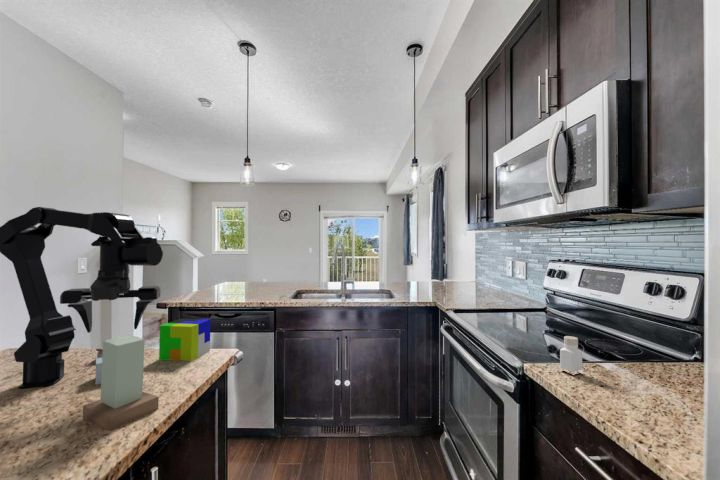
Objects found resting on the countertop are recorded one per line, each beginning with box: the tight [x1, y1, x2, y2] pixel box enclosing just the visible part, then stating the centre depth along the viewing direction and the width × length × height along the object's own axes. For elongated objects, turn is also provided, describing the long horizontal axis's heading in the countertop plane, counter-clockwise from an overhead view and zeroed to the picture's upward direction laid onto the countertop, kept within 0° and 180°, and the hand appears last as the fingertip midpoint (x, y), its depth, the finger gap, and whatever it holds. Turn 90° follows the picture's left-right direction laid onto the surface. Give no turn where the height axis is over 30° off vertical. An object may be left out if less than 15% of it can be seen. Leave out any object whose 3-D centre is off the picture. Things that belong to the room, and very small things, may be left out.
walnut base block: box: [82, 391, 160, 431], centre depth 67 cm, size 9×9×3 cm
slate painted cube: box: [95, 358, 102, 385], centre depth 84 cm, size 5×5×5 cm
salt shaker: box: [559, 335, 583, 372], centre depth 91 cm, size 4×4×10 cm
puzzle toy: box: [158, 318, 211, 362], centre depth 103 cm, size 10×10×10 cm
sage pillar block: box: [99, 334, 146, 409], centre depth 67 cm, size 5×5×12 cm
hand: (113, 330), depth 81 cm, fingers open, 9 cm apart
